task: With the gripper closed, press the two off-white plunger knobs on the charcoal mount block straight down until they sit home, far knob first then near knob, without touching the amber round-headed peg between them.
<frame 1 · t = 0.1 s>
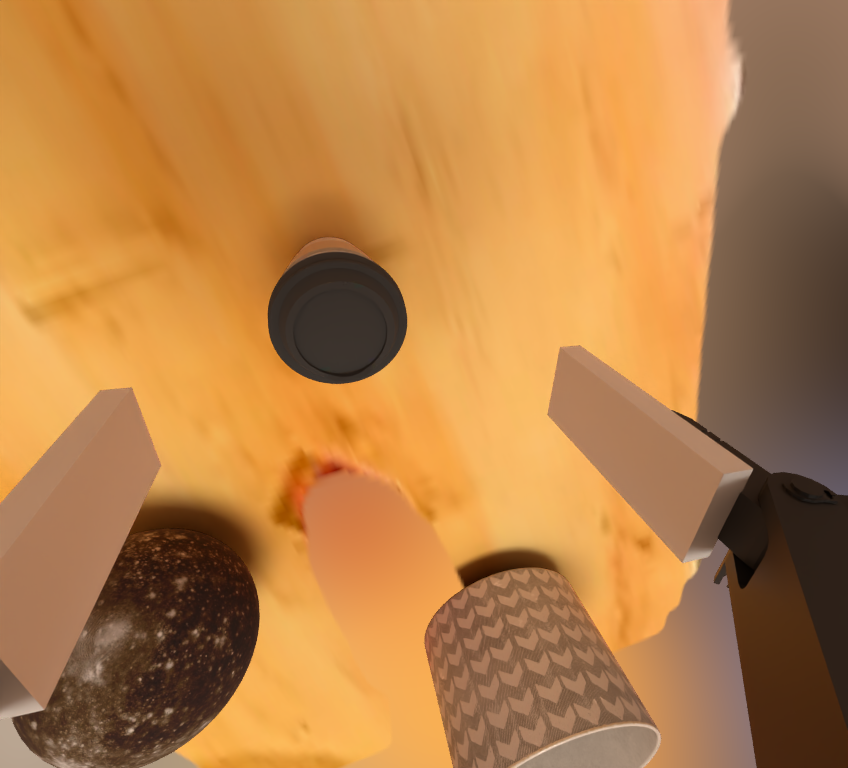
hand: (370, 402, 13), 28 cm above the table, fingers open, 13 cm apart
planter: (491, 597, 70), on the table
coffee cup: (331, 274, 39), on the table
decorative sphere: (178, 551, 50), on the table
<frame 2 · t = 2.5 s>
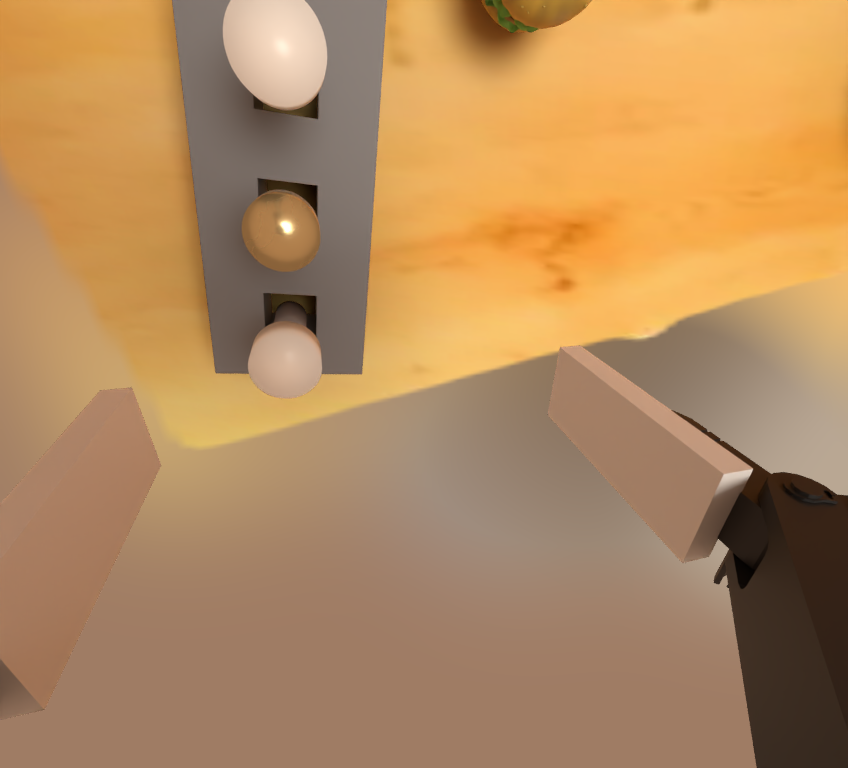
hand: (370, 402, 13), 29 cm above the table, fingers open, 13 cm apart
mount block: (292, 201, 36), on the table
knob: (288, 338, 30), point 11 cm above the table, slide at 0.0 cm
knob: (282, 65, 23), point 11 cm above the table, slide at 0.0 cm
amber round-headed peg: (286, 220, 26), point 11 cm above the table, slide at 0.0 cm
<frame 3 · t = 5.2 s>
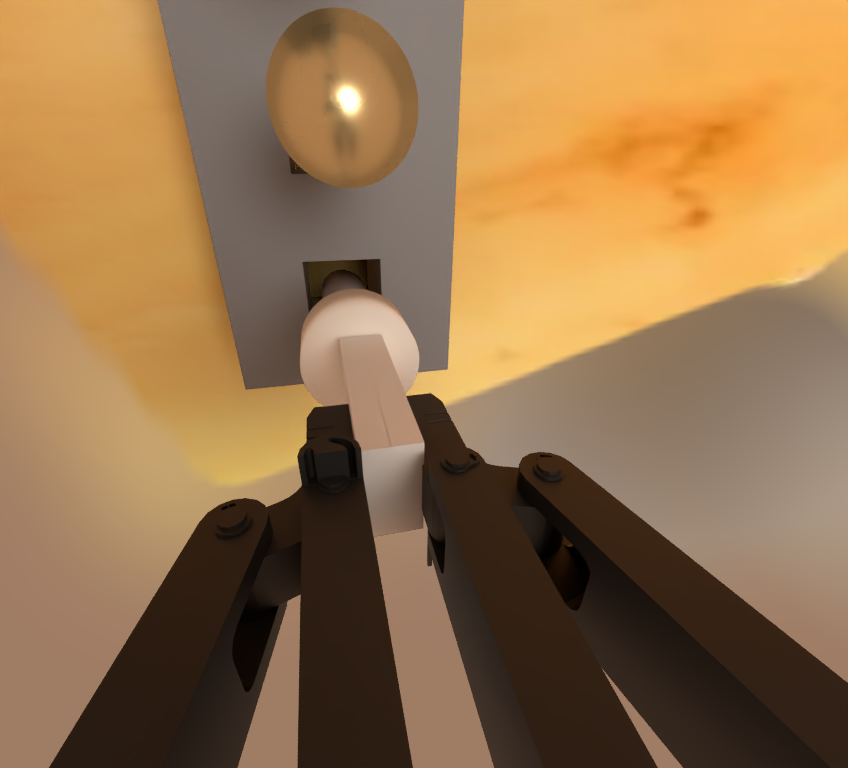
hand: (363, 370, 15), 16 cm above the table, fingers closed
mount block: (325, 130, 25), on the table
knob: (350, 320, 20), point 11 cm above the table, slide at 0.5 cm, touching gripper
amber round-headed peg: (335, 118, 15), point 11 cm above the table, slide at 0.0 cm
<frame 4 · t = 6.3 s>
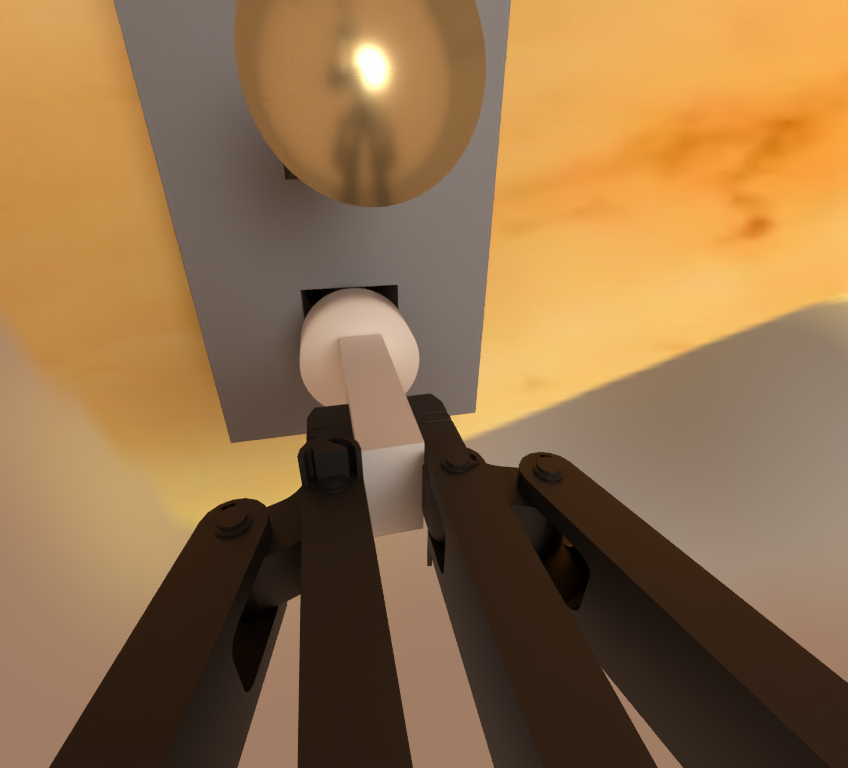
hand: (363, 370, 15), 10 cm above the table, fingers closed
mount block: (328, 125, 20), on the table
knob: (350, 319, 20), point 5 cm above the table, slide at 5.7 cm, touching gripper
amber round-headed peg: (346, 103, 11), point 11 cm above the table, slide at 0.0 cm
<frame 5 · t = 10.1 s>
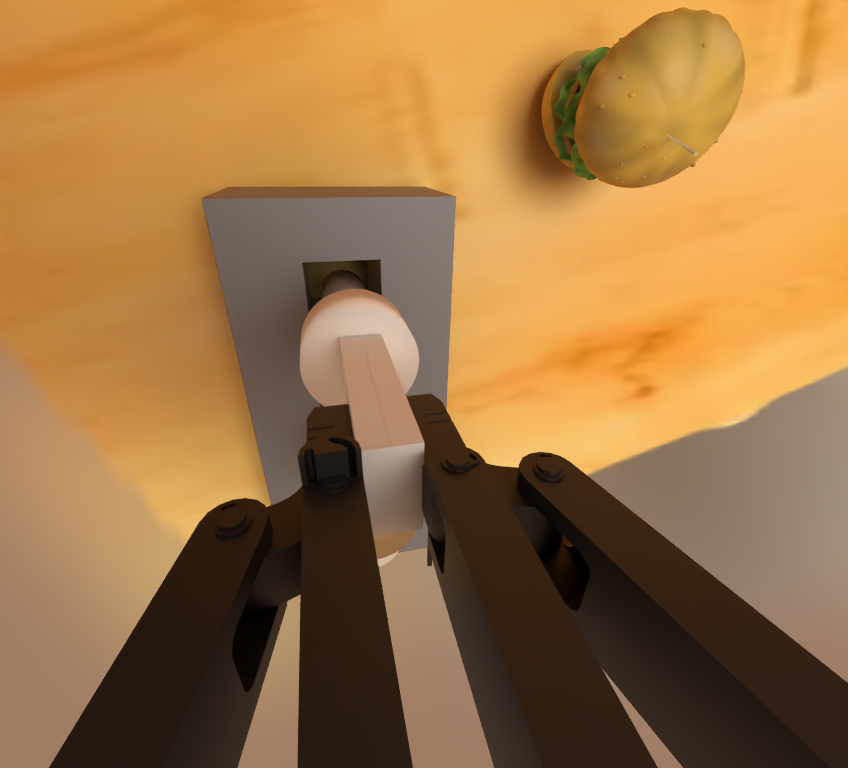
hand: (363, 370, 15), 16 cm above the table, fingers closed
mount block: (346, 371, 32), on the table
hamburger: (570, 119, 28), on the table
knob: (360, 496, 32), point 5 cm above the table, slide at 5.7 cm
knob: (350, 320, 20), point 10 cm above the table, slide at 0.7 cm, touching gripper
amber round-headed peg: (362, 462, 23), point 11 cm above the table, slide at 0.0 cm
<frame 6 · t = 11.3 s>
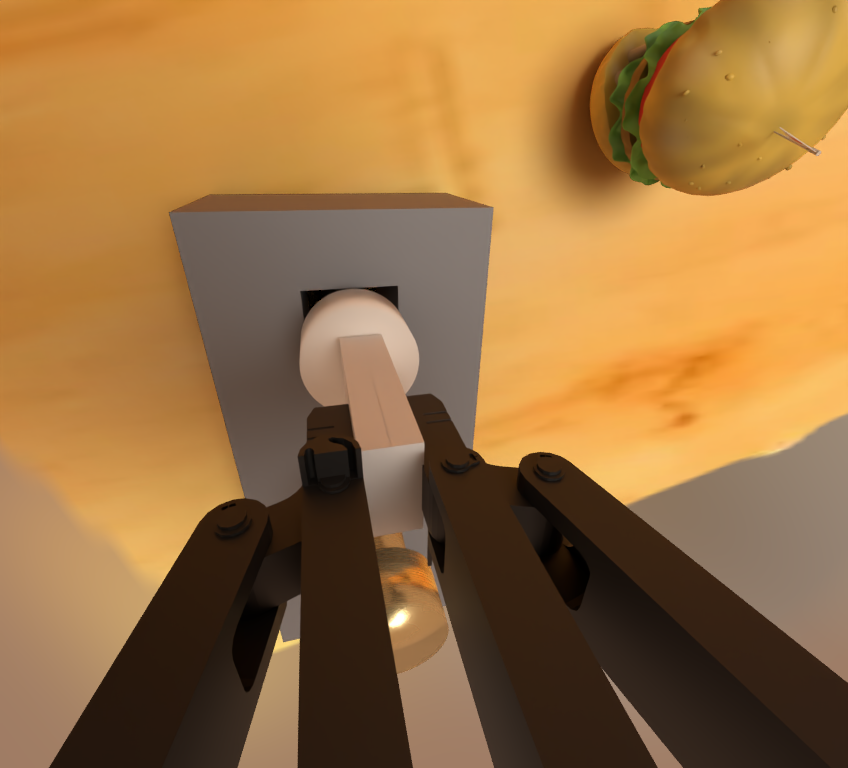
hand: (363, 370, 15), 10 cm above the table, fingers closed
mount block: (352, 405, 28), on the table
hamburger: (619, 112, 23), on the table
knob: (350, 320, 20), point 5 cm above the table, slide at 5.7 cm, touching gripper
amber round-headed peg: (374, 534, 19), point 11 cm above the table, slide at 0.0 cm
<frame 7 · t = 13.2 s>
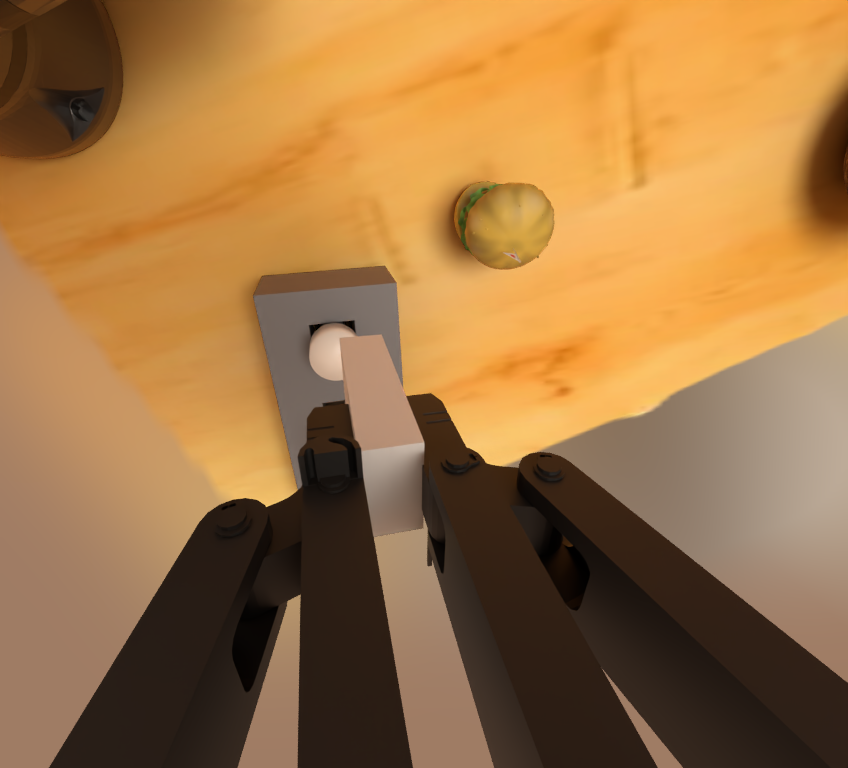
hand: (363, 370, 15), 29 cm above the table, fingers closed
mount block: (341, 385, 48), on the table
hamburger: (478, 217, 43), on the table
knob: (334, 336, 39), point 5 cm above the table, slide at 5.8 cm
amber round-headed peg: (348, 440, 38), point 11 cm above the table, slide at 0.0 cm
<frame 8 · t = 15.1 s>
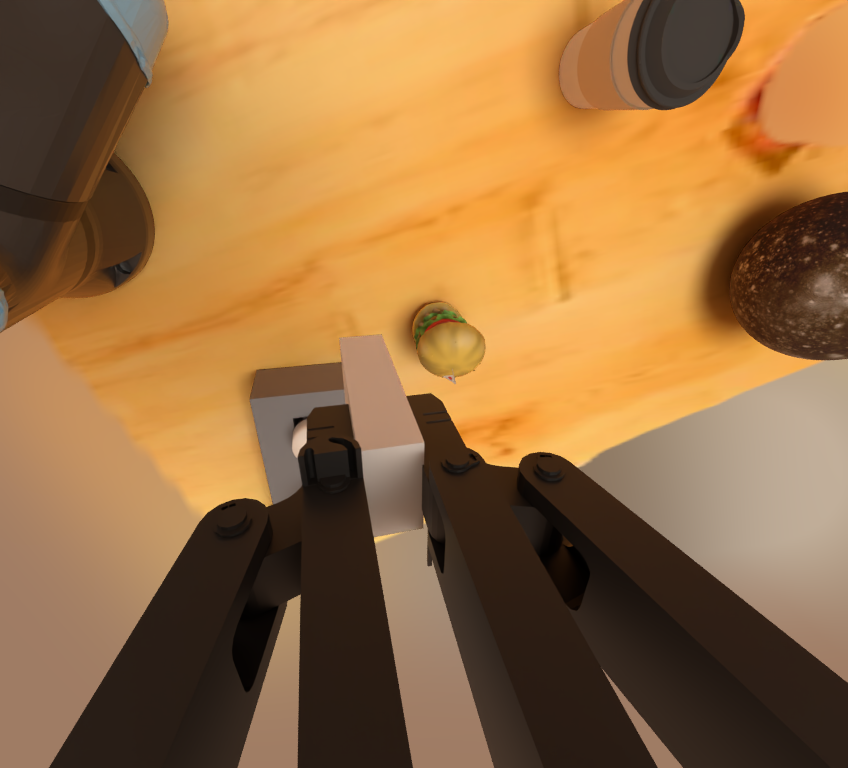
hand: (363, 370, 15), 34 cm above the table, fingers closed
mount block: (319, 449, 58), on the table
hamburger: (433, 324, 53), on the table
coffee cup: (587, 69, 43), on the table
decorative sphere: (754, 261, 60), on the table
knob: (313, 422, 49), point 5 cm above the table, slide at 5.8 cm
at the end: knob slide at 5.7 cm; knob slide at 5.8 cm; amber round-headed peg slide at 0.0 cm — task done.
